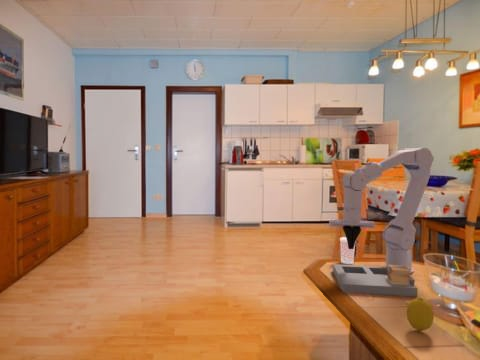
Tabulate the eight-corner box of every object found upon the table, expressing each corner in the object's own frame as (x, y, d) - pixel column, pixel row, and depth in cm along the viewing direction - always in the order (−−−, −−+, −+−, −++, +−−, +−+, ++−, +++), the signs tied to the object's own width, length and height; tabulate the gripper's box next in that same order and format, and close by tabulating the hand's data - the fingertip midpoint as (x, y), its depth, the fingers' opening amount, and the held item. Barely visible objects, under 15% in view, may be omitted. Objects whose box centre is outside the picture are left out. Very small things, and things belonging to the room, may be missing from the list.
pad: (384, 276, 115) (384, 276, 115) (402, 277, 115) (402, 277, 115) (391, 284, 108) (391, 283, 108) (410, 285, 108) (410, 284, 108)
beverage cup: (349, 265, 135) (350, 228, 134) (335, 261, 139) (336, 225, 138) (358, 262, 138) (360, 226, 137) (345, 259, 143) (346, 223, 142)
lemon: (436, 338, 81) (437, 303, 80) (409, 335, 82) (411, 301, 81) (428, 327, 86) (430, 294, 85) (403, 324, 87) (404, 292, 87)
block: (387, 277, 114) (387, 264, 114) (403, 278, 114) (404, 265, 113) (392, 282, 109) (392, 269, 109) (409, 283, 109) (410, 270, 108)
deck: (332, 271, 127) (333, 260, 127) (395, 274, 125) (395, 262, 125) (342, 292, 107) (343, 279, 107) (417, 296, 105) (417, 282, 105)
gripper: (332, 209, 118) (330, 250, 119) (378, 210, 116) (376, 252, 117) (328, 206, 125) (327, 245, 126) (372, 207, 123) (370, 247, 124)
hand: (350, 248), depth 122 cm, fingers closed
